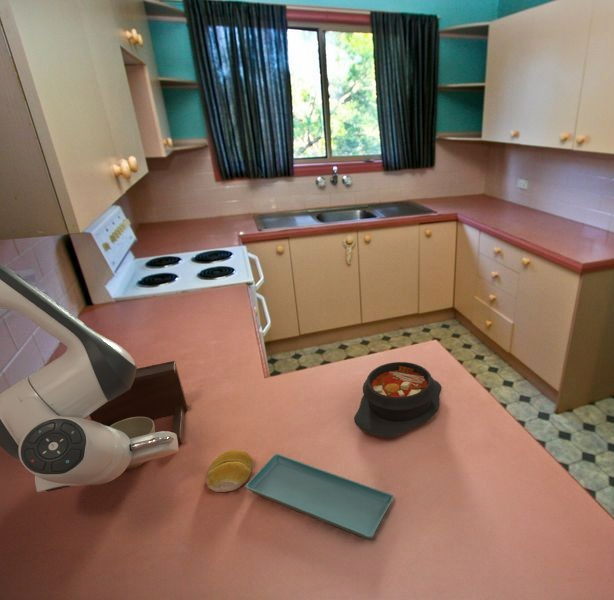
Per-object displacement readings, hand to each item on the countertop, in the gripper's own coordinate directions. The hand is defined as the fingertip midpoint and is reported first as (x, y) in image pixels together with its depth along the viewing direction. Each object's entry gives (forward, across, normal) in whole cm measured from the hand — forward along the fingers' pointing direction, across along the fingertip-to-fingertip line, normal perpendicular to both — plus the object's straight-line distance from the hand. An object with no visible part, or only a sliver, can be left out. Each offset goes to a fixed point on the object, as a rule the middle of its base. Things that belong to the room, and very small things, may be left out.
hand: (126, 460), depth 81 cm
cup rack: (+12, 0, -6) cm, 13 cm away
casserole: (+2, -56, +5) cm, 56 cm away
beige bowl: (+7, 0, 0) cm, 7 cm away
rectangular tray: (-11, -32, +18) cm, 39 cm away
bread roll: (-2, -18, +9) cm, 20 cm away
